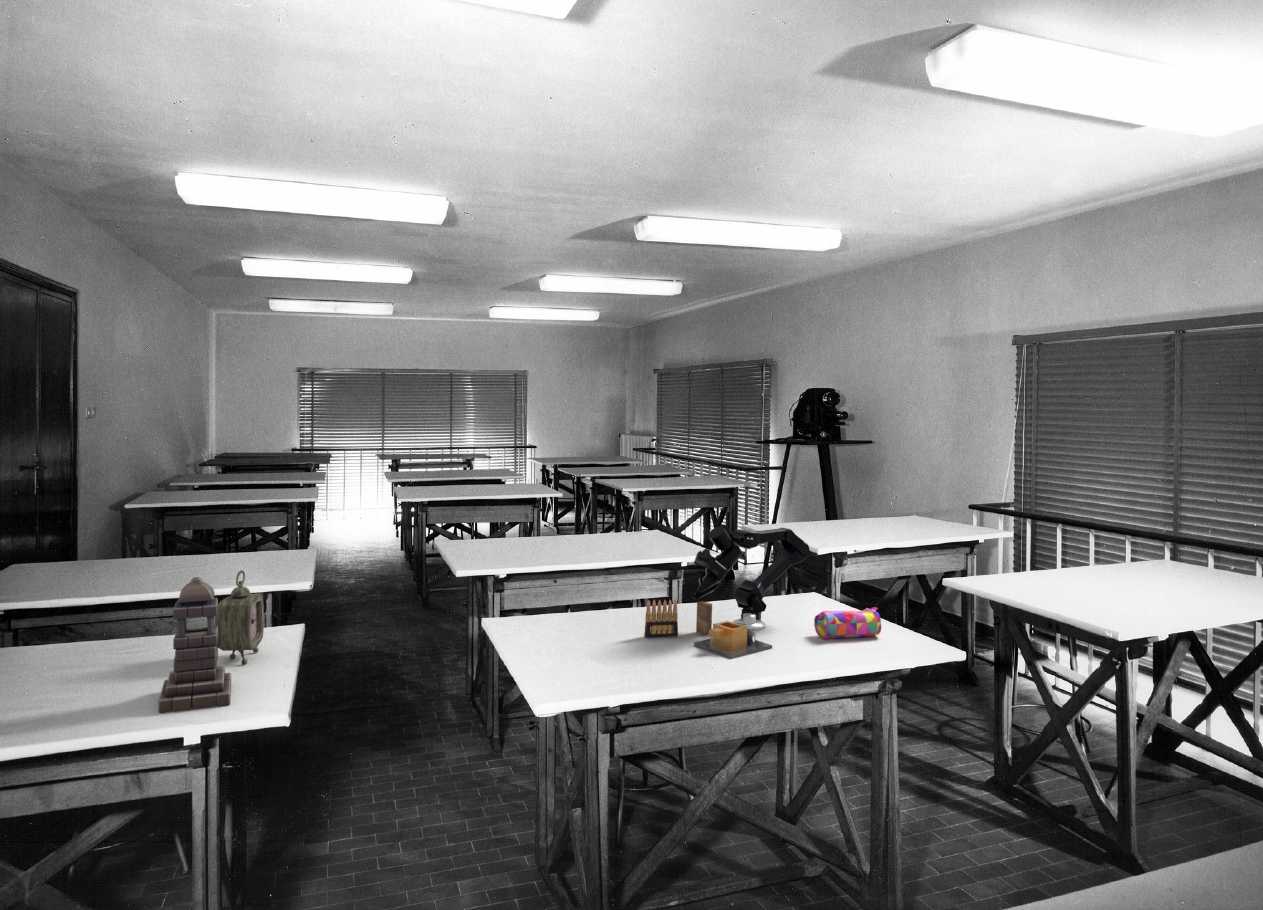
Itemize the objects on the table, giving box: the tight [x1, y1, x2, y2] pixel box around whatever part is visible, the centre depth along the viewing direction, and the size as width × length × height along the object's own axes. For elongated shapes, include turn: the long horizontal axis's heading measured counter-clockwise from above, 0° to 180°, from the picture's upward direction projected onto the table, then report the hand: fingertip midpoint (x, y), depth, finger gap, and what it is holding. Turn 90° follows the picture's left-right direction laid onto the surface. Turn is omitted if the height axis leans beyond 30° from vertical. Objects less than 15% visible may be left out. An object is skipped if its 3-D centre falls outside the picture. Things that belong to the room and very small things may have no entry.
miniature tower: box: [158, 576, 232, 714], centre depth 199 cm, size 16×15×30 cm
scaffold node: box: [693, 613, 773, 660], centre depth 254 cm, size 21×16×9 cm
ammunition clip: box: [643, 598, 679, 639], centre depth 262 cm, size 11×2×12 cm, turn 102°
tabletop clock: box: [214, 570, 265, 666], centre depth 230 cm, size 14×9×25 cm, turn 9°
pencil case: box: [813, 606, 882, 640], centre depth 268 cm, size 22×9×9 cm, turn 110°
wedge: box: [695, 600, 713, 636], centre depth 267 cm, size 2×4×10 cm, turn 39°
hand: (696, 595), depth 262 cm, fingers open, 9 cm apart
